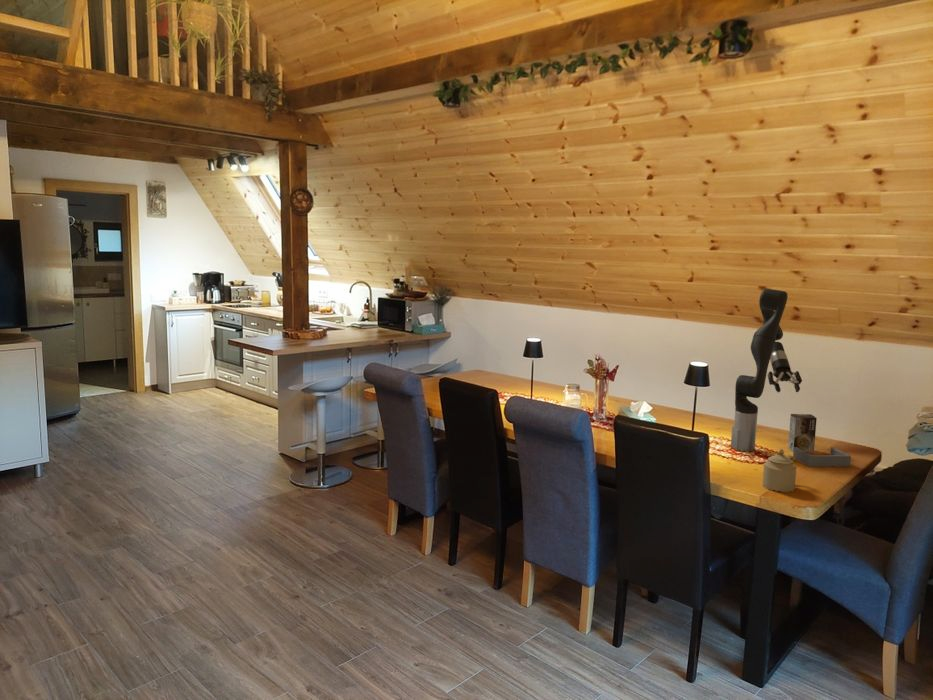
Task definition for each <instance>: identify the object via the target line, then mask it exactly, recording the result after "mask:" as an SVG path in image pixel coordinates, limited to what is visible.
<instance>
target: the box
mask: <svg viewBox="0 0 933 700" xmlns="http://www.w3.org/2000/svg"><path fill="white" fill-rule="evenodd" d="M792 453H793V454H792V456H793V459H795V460H797V461H798V460H799V461H798V462H800V463H801V464H803V463H804V465H805V466H807V467H809V466H850V467H851V461H852V459H851V458H852V457H851V455H850V454H847V453H845V452H843V451H841V450H839V449H837V448H835V447H830V453H829V455H828V454H820V455H819V454H818V455H817V454H811V453H810V454H809V453H807V452H804V451H802V450H801V449H799V448H797V447H794V452H792Z"/></svg>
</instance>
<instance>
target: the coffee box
mask: <svg viewBox="0 0 933 700" xmlns="http://www.w3.org/2000/svg"><path fill="white" fill-rule="evenodd" d="M817 419H818V418H817V417H816V416H815V415H813V414H808V413H805V414H804V413H790V419H789V429H788V430H789V432H788V446H787V448H788V449H789V450H790V451H791V452H792V453H794V447H797V448H799V449H801V450H802V451H804V452H806V453H808V454H809V453H810V454H814V453H815V447H816V446H815V444H816V443H815V442H816V433H817V432H816V431H817Z"/></svg>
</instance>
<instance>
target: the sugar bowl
mask: <svg viewBox="0 0 933 700" xmlns="http://www.w3.org/2000/svg"><path fill="white" fill-rule="evenodd" d="M777 453H778V454H774V455H771V456H769V457H768V458H767V459H768V461H766V462H764V464H763V471H762V487H764V488H765V487H766V488H765V489H767V488H768V489H767V490H769V489H771V490H770V491H772V490H775V491H774V492H777V491H781V492H780V493H791V492H790V491H792V492H794V491H795V488H796V487H795V486H796V480H797V467H796V466H795V465H794V462H795V461H794V459H795V458H793V455H792V454H786V455H784V454H785V451H784V449H782V448H781V449H779V450H778V452H777ZM793 490H794V491H793Z"/></svg>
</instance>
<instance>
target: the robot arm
mask: <svg viewBox="0 0 933 700" xmlns="http://www.w3.org/2000/svg"><path fill="white" fill-rule="evenodd" d="M788 296H789V295H788V292H787V291H783V290H779V289H778V290H777V289H774V288H773V289H771V288H764V289H762V290H761V293H760V296H759V301H758V303H759V309H760V312H761V315H762V319H763V320H762V322H763V324H762V325H761V326H759V328H757V330H756V331H755V332H754V333H753V335H752V340H751V343H750V351H751V355H752V357H753V360H754V361H755V365H756V373H755V376H751V375H745V374H743V375H742V374H740V375H739V376H738V377H737V379H736V382H735V387H734V388H735V394H734V398H735V399H734V406H735V409H734V410H735V412H734V422H733V423H734V424H733V426H731V440H730V447H731V448H732V447H733V448H734V449H733V448H732V449H733V450H735V449H736V450H742V451H741V452H745V451H751V452H754V451H755V450H756V438H757V436H756V435H757V425H758V415H759V414H758V413H759V407H758V405H756V404H755V403H753V402H752V401H750V400H749V399H748V398H754V399H759V398H761V396H762V395H763V392H764V389H765V384H766V378H768V383H769V385H770V386H771V385H773V386H774V389H775V391H776V392H777V393H780V392H781V391H782V389H781V386H780V383H779V382H789V383H790V384H792V385H793V386H794V389H795V393H799V392H800V390H801V387H800V385H801V383H802V382H803V379H802V377H801V375H800V372H799V371H798V370H797V371H792V369H791V365H790V363H789V359H788V356H787V353H786V352H785V348H784V345H783V343H782V342H780V340H781V339H782V338H783V336H784V332H783V329H782V327H781V326H780V323H781V320H782V317H783V314H784V311H785V308H786V304H787V302H788ZM769 364H771V367H772V368H771V369H772V371H773V372H772V371H768V368H769ZM774 378H776V380H774ZM736 450H735V451H736Z"/></svg>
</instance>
